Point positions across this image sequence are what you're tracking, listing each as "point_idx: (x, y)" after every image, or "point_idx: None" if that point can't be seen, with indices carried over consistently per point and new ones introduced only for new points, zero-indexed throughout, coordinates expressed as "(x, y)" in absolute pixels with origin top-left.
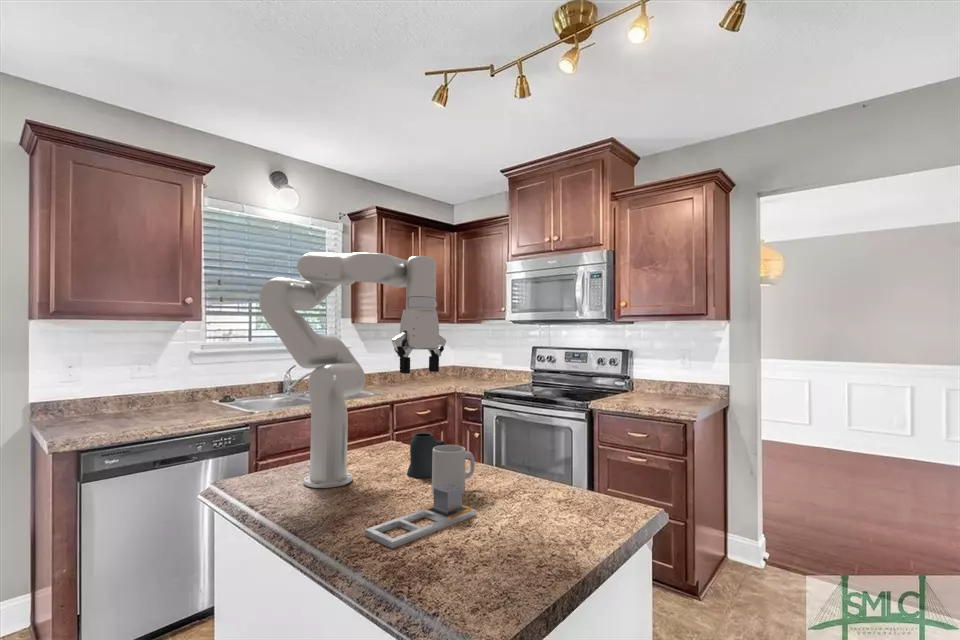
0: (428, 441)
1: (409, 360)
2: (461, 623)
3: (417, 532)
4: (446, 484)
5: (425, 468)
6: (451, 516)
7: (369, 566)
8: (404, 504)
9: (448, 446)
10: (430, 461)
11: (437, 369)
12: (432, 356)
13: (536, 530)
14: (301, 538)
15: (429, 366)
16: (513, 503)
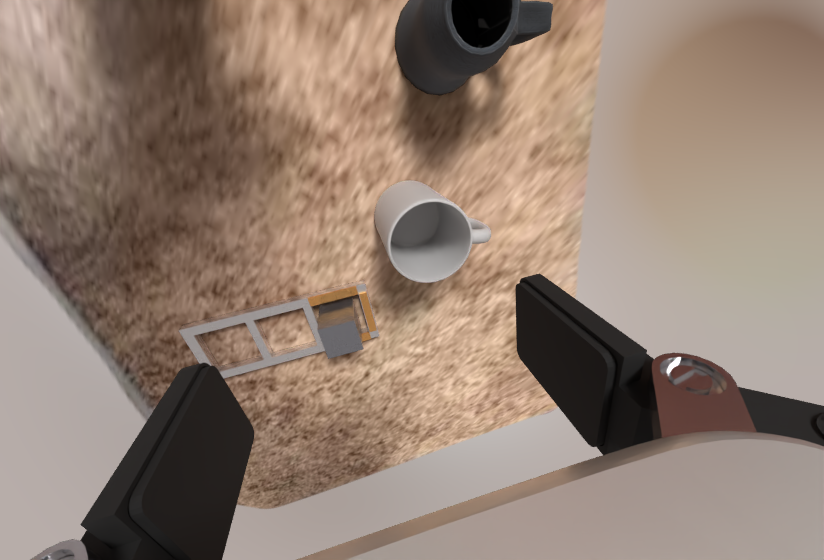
0: (468, 64)
1: (211, 553)
2: None
3: (258, 368)
4: (350, 322)
5: (431, 80)
6: None
7: None
8: (296, 232)
9: (453, 207)
10: (451, 79)
11: (529, 367)
12: (615, 399)
13: (411, 397)
14: (60, 287)
15: (537, 306)
16: (456, 318)
